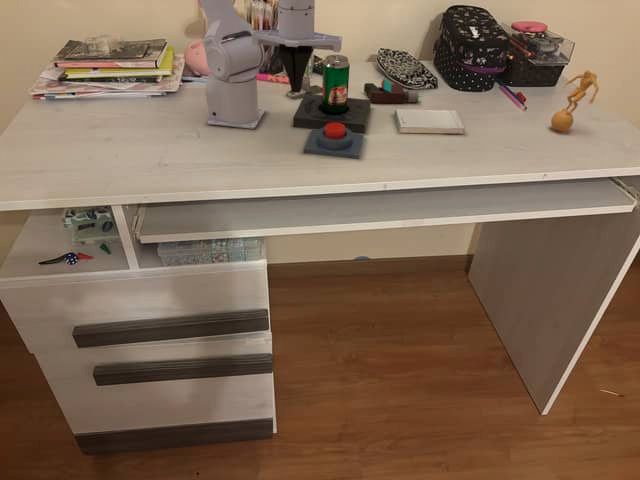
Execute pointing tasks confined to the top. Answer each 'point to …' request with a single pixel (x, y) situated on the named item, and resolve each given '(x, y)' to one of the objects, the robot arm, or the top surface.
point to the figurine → (574, 101)
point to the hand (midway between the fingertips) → (296, 90)
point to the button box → (334, 144)
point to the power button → (335, 130)
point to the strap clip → (304, 89)
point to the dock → (314, 119)
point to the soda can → (335, 85)
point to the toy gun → (389, 93)
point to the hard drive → (428, 121)
